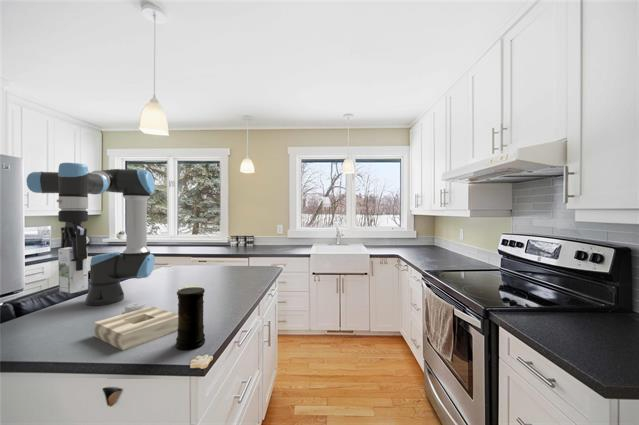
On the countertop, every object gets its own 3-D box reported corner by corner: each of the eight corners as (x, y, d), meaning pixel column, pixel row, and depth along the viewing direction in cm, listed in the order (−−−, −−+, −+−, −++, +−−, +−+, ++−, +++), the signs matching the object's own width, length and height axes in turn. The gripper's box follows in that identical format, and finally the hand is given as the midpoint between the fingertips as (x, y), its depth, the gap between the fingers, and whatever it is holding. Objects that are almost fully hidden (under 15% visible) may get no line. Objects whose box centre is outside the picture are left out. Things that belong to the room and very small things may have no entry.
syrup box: (88, 289, 98) (88, 246, 98) (69, 294, 93) (68, 248, 93) (77, 287, 100) (77, 246, 100) (57, 292, 95) (57, 248, 95)
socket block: (94, 336, 102) (94, 322, 102) (152, 318, 119) (152, 306, 119) (122, 350, 91) (123, 334, 91) (181, 328, 108) (181, 315, 108)
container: (181, 338, 100) (182, 286, 100) (208, 337, 101) (208, 286, 101) (170, 351, 91) (170, 294, 91) (200, 350, 92) (200, 293, 92)
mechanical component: (115, 318, 119) (136, 320, 117) (115, 307, 119) (136, 309, 117) (135, 310, 129) (154, 312, 127) (135, 300, 129) (154, 302, 127)
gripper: (47, 209, 98) (48, 277, 98) (71, 209, 88) (71, 285, 88) (75, 209, 105) (75, 273, 105) (100, 210, 95) (100, 280, 95)
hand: (73, 278), depth 97 cm, fingers closed on syrup box, 6 cm apart
